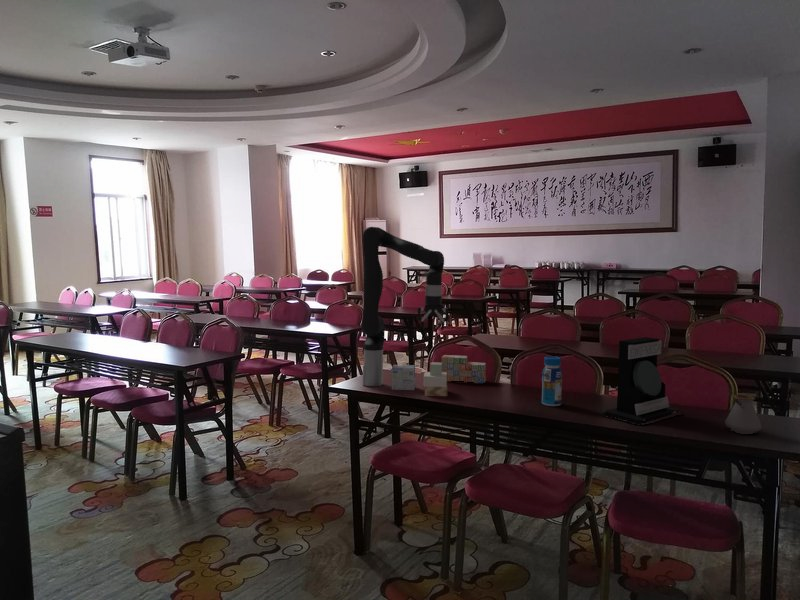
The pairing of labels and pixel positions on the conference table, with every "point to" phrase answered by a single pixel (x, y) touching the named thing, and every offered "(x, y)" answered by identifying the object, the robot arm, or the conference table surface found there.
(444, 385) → the cream block
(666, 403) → the award
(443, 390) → the oak block
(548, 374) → the beverage bottle
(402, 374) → the light bulb box
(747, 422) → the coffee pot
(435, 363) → the sage cube
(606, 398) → the conference table surface
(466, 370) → the stack of blocks
